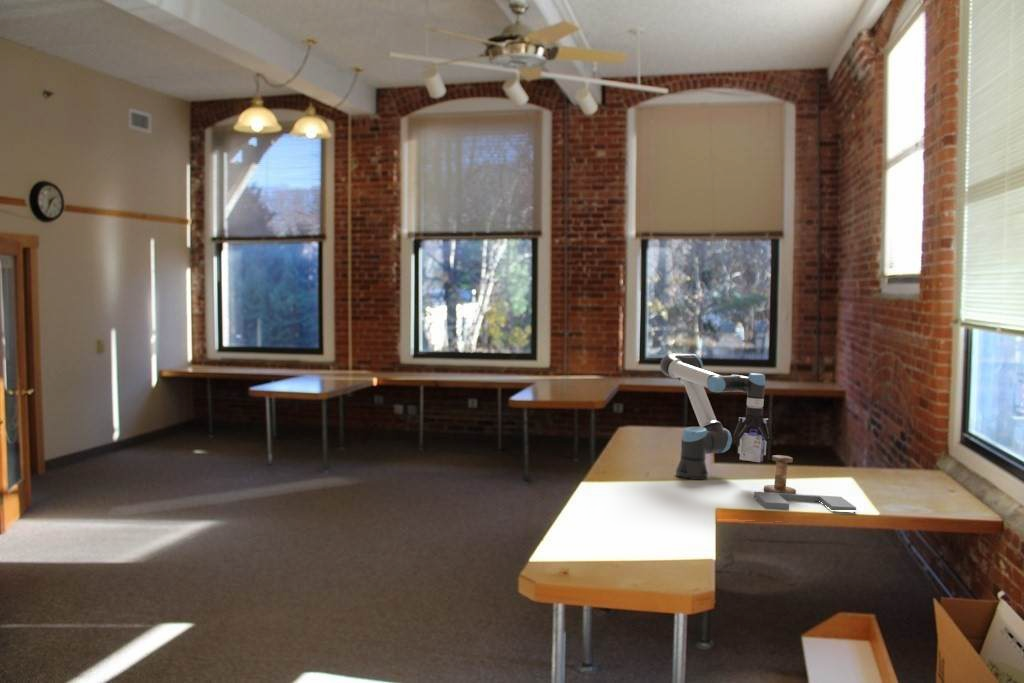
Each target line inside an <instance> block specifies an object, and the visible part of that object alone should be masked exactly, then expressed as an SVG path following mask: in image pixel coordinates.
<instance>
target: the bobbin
mask: <svg viewBox="0 0 1024 683" xmlns="http://www.w3.org/2000/svg"><path fill="white" fill-rule="evenodd" d="M771 460H772V461H773V462H775V472H774V473H775V474H774V484H767V485H766V484H765V485H763V492H769V493H786V494H797V490H796V489H795V488H793V487H790V486H787V477H788V475H787V474H788V464H789V463H793V461H794V460H793V457H791V456H789V455H781V454H779V455H778V454H776V455H772V456H771Z"/></svg>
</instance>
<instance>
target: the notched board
mask: <svg viewBox="0 0 1024 683" xmlns="http://www.w3.org/2000/svg"><path fill="white" fill-rule="evenodd" d="M753 495H754V496H753V497H755V498H756V499H757V500H758V501H759V502H760V503H761V504H762V505H763V506H764V507H767V508H766V509H773V508H780V509H779V510H789V509H790V503H789V502H788V501H796V502H808V501H820V502H822V503H823V504H824V505H826V506H827V507H829V508H830V509H831V510H856V511H857V507H856V506H855V505H853V504H852V503H850V502H849V501H848V500H847V499H845V498H843V496H838V495H837V496H835V495H834V496H833V495H832V496H831V495H818V494H817V495H816V494H801V493H796V494H786V493H769V492H765V491H754V492H753ZM755 498H754V499H755ZM756 499H755V500H756ZM757 500H756V501H757ZM758 501H757V502H758ZM759 502H758V503H759ZM820 502H819V503H820ZM760 503H759V504H760ZM761 504H760V505H761ZM762 505H761V506H762ZM763 506H762V507H763Z"/></svg>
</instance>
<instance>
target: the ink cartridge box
mask: <svg viewBox="0 0 1024 683" xmlns="http://www.w3.org/2000/svg"><path fill="white" fill-rule="evenodd" d="M758 432H759V429H755V428H749V433H747V432H745V433H744V435H743V436H742V437H741V440H742V445H741V454H739V460H741V461H750V462H756V463H761V462H764V455H763V451H764V440H765V439H764V435H762V434H759V433H758Z"/></svg>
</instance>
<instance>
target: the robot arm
mask: <svg viewBox="0 0 1024 683" xmlns="http://www.w3.org/2000/svg"><path fill="white" fill-rule="evenodd" d="M659 367H660V370H661V372H662V374H664V376H667V377H670V378H673V379H677V378H678V380H679V383H680V384H681V385H682V384H683V385H684V387H685V391H686V393H687V396H688V398H689V401H690V404H691V406H692V409H693V411H694V414H695V417H696V419H697V422H698V424H699V426H689V427H686V428H684V429H683V430H682V434H681V443H680V444H681V445H680V447H681V449H680V460H679V461H678V465H677V466H676V469H675V475H676V474H677V475H679V476H682V477H686V478H693V479H692V480H696V479H701V480H706V479H708V476H709V472H708V468H707V465H706V455H708V454H709V455H710V454H721V453H725V452H727V451H728V450H729V449H730V448H731V446H732V443H733V442H732V440H733V438H734V439H736V444H735V445H736V447H737V454H739V455H740V454H741V445H742V440H741V437H742V436H743V435H744V433H747V430H748V429H750V428H758V431H760V433H761V435H764V451H763V456H766V454H767V449H768V448H769V442H770V441H772V440H773V439H774V438H773V433H772V430H771V426H770V419H769V418H763V417H764V416H763V414H764V408H763V407H764V402H765V399H764V398H765V390H766V375H765V374H764V373H756V372H750V373H749V374H748V376H747V375H746V376H745V375H740V374H731V375H721V374H719V373H718V374H717V373H715V372H712V371H709V370H706V369H703V368H704V365H703V360H702V359H701V358H700V357H699V356H698V354H695V353H690V352H688V353H687V352H686V353H669V354H665V355H664V357H662V359H661V360H660V365H659ZM705 388H706V389H708V390H709V391H710V392H711V393H712V392H713V393H727V392H728V393H730V392H731V393H732V392H736V393H737V392H741V393H747V394H746V406H747V407H746V408H745V409H746V411H745V417H740V416H739V417H738V422H737V423H736V424H737V425H736V427H735V430H734V432H733V434H731V432H730V431H729V430H728V429H727V428H725V427H723V425H722V422H720V421H719V420H717V417H716V415H715V412H714V410H713V407H712V405H711V402H710V400H709V397H708V395H707V392H706V390H705ZM744 422H746V423H745V424H744V426H743V428H742V429H741V427H742V425H743V423H744ZM762 424H764V425H765V429H766V432H767V434H766V432H765V430H764V428H763V425H762ZM740 429H741V430H740ZM732 437H733V438H732ZM677 475H676V476H677ZM679 476H678V477H679ZM682 477H681V478H682ZM686 478H685V479H686Z"/></svg>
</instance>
